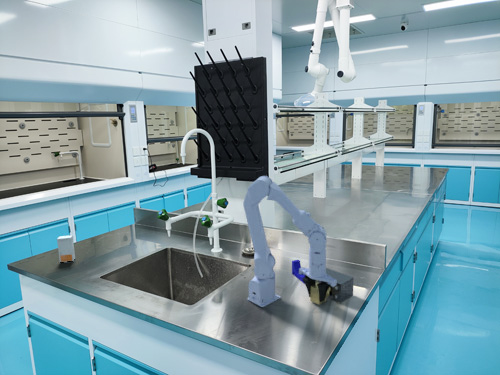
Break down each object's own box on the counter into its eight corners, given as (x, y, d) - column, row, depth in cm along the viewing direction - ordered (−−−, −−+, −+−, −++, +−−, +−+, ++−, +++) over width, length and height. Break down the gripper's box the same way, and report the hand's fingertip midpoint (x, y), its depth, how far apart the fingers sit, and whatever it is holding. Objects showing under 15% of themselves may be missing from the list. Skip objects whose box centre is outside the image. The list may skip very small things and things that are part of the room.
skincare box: (59, 263, 162) (56, 239, 160) (61, 260, 166) (58, 236, 164) (73, 261, 164) (70, 237, 161) (75, 258, 168) (72, 234, 165)
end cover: (321, 305, 118) (321, 289, 117) (308, 299, 122) (308, 284, 121) (338, 295, 125) (338, 280, 124) (325, 290, 129) (325, 275, 128)
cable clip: (317, 284, 136) (317, 269, 135) (307, 286, 134) (307, 271, 133) (301, 272, 147) (301, 259, 146) (292, 274, 145) (291, 260, 144)
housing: (339, 303, 120) (340, 285, 119) (311, 292, 129) (311, 274, 128) (353, 295, 126) (353, 277, 125) (325, 284, 135) (325, 267, 133)
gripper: (342, 264, 116) (341, 302, 118) (307, 253, 126) (307, 288, 129) (330, 270, 111) (329, 309, 114) (295, 258, 122) (295, 294, 124)
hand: (316, 298), depth 121 cm, fingers closed on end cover, 4 cm apart
